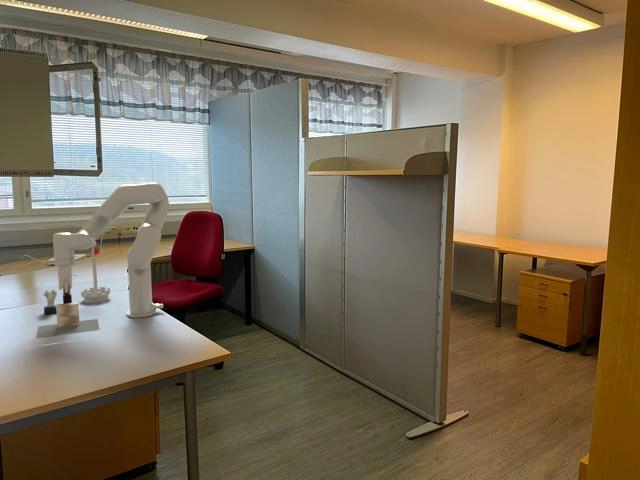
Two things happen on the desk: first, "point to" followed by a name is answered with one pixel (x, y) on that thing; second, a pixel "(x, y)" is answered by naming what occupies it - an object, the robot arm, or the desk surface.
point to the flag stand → (95, 284)
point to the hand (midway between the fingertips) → (67, 303)
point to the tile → (67, 314)
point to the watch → (50, 302)
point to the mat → (67, 328)
